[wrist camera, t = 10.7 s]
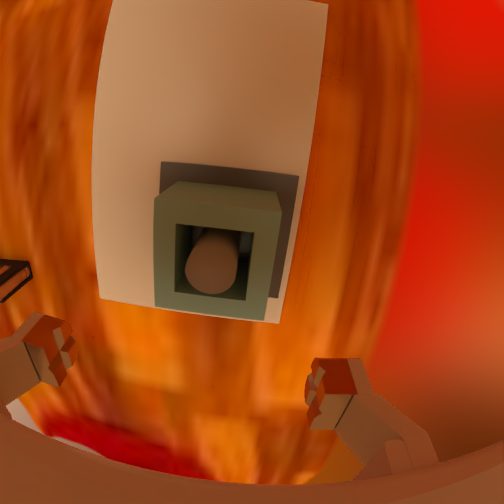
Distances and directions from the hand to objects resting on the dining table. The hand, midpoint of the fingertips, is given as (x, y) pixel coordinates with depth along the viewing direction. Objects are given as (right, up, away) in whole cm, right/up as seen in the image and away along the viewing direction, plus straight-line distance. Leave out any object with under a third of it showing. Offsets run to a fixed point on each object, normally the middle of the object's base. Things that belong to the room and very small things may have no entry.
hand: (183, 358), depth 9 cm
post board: (-2, +10, +11) cm, 15 cm away
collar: (0, +5, +11) cm, 12 cm away
